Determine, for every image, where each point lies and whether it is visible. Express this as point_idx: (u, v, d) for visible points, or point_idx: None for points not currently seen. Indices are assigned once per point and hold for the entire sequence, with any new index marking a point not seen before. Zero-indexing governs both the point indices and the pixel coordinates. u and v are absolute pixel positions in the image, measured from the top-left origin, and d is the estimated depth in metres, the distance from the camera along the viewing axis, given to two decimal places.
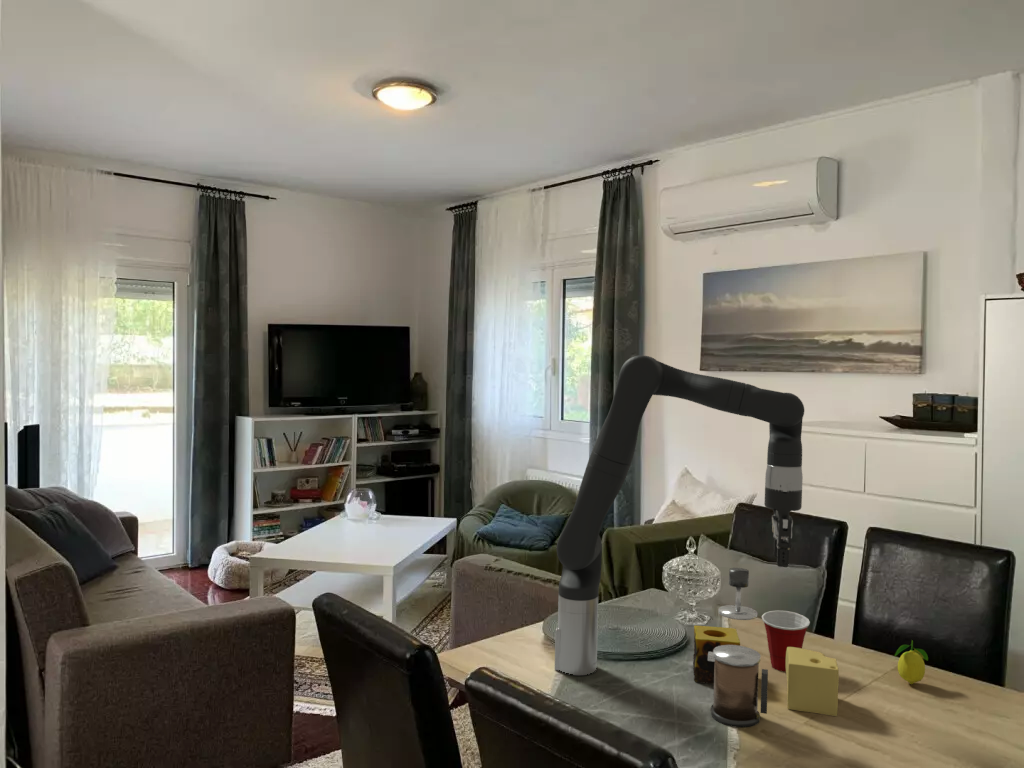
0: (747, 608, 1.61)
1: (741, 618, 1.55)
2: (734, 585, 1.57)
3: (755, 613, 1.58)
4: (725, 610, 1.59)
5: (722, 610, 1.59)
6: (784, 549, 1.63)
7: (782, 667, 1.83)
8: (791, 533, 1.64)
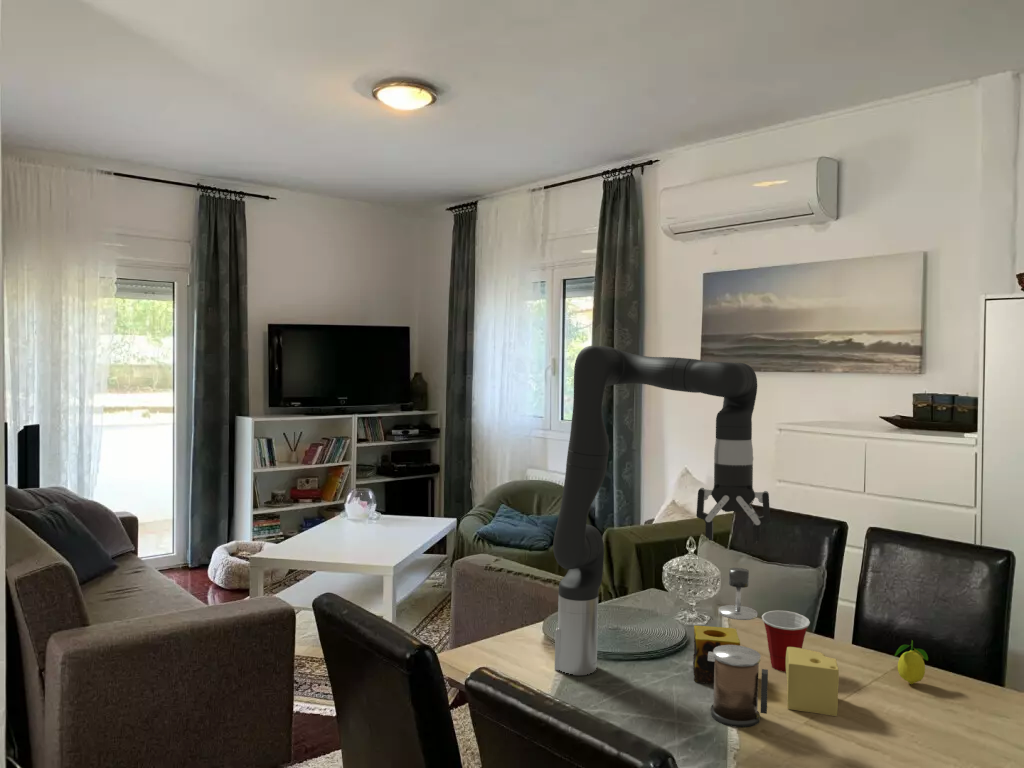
0: (747, 608, 1.61)
1: (741, 618, 1.55)
2: (734, 585, 1.57)
3: (755, 613, 1.58)
4: (725, 610, 1.59)
5: (722, 610, 1.59)
6: (761, 523, 1.57)
7: (782, 667, 1.83)
8: (751, 507, 1.59)
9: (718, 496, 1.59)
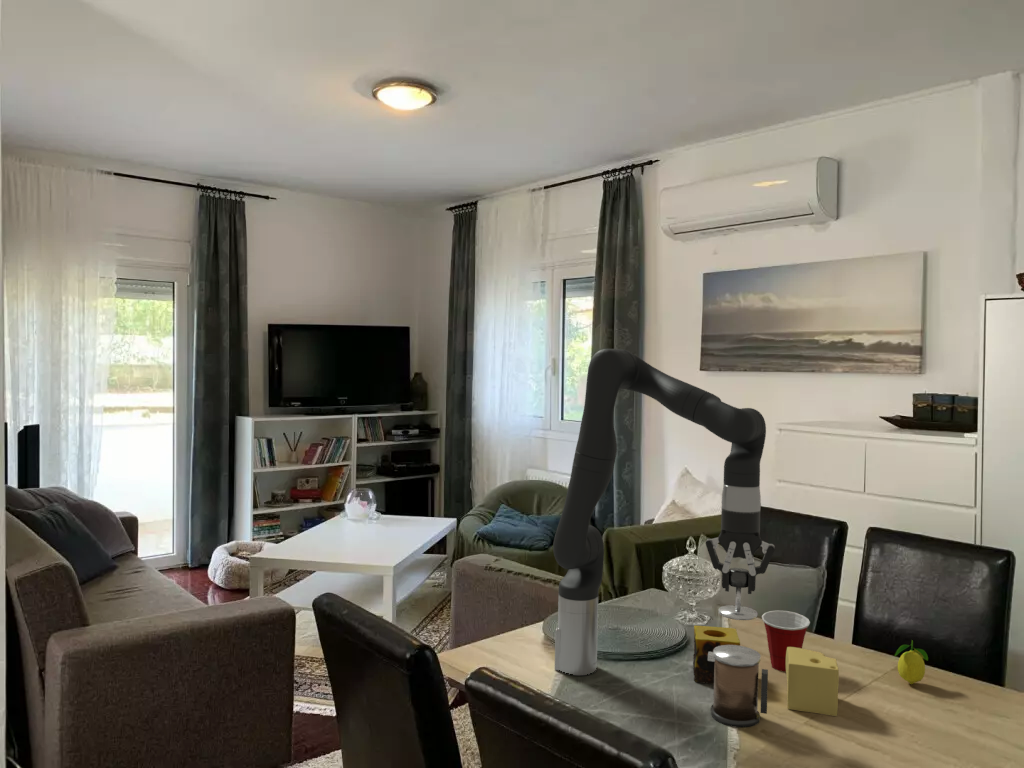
0: (747, 608, 1.61)
1: (741, 618, 1.55)
2: (734, 585, 1.57)
3: (755, 613, 1.58)
4: (725, 610, 1.59)
5: (722, 610, 1.59)
6: (756, 574, 1.58)
7: (782, 667, 1.83)
8: None
9: (726, 541, 1.58)
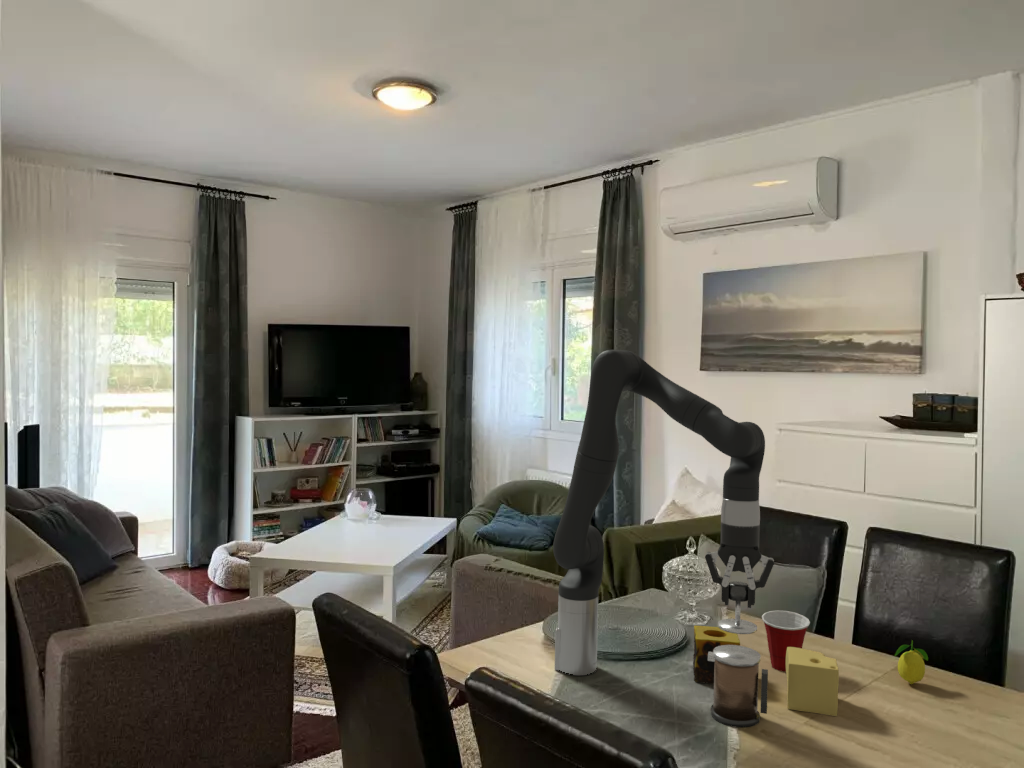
0: (747, 622, 1.61)
1: (741, 632, 1.55)
2: (734, 599, 1.58)
3: (755, 627, 1.58)
4: (724, 623, 1.59)
5: (722, 624, 1.59)
6: None
7: (782, 667, 1.83)
8: (752, 569, 1.59)
9: (725, 555, 1.58)
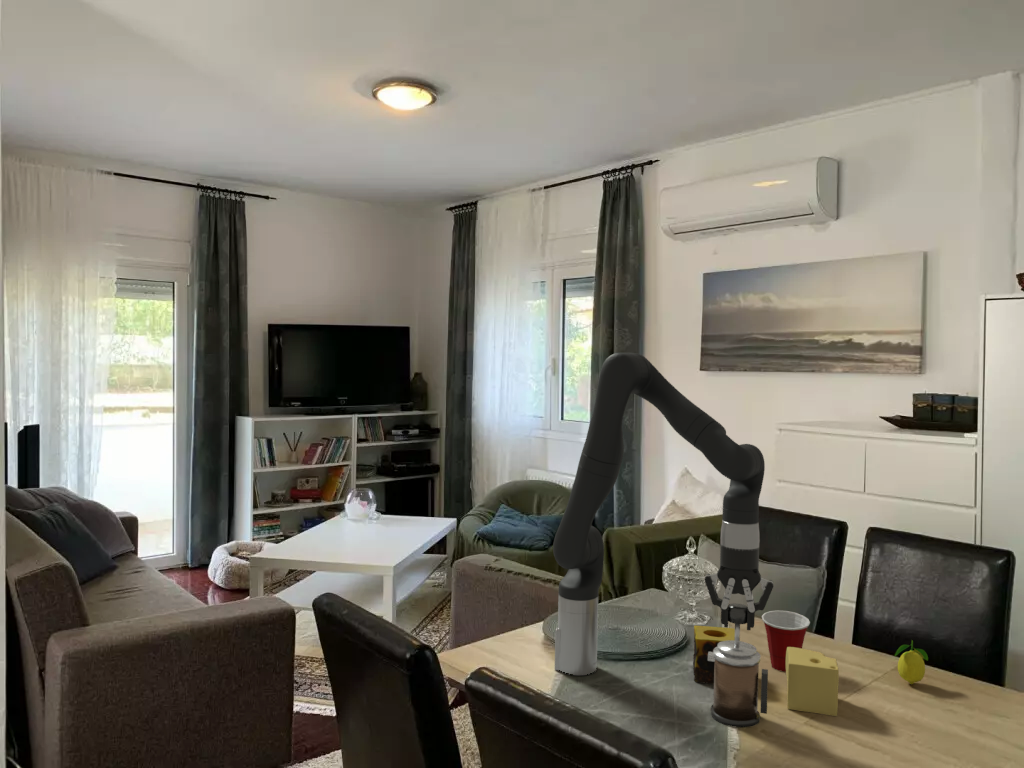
0: (746, 644, 1.61)
1: (740, 655, 1.55)
2: (733, 622, 1.58)
3: (754, 649, 1.58)
4: (724, 646, 1.60)
5: (721, 646, 1.59)
6: (755, 610, 1.58)
7: (782, 667, 1.83)
8: None
9: (725, 577, 1.59)
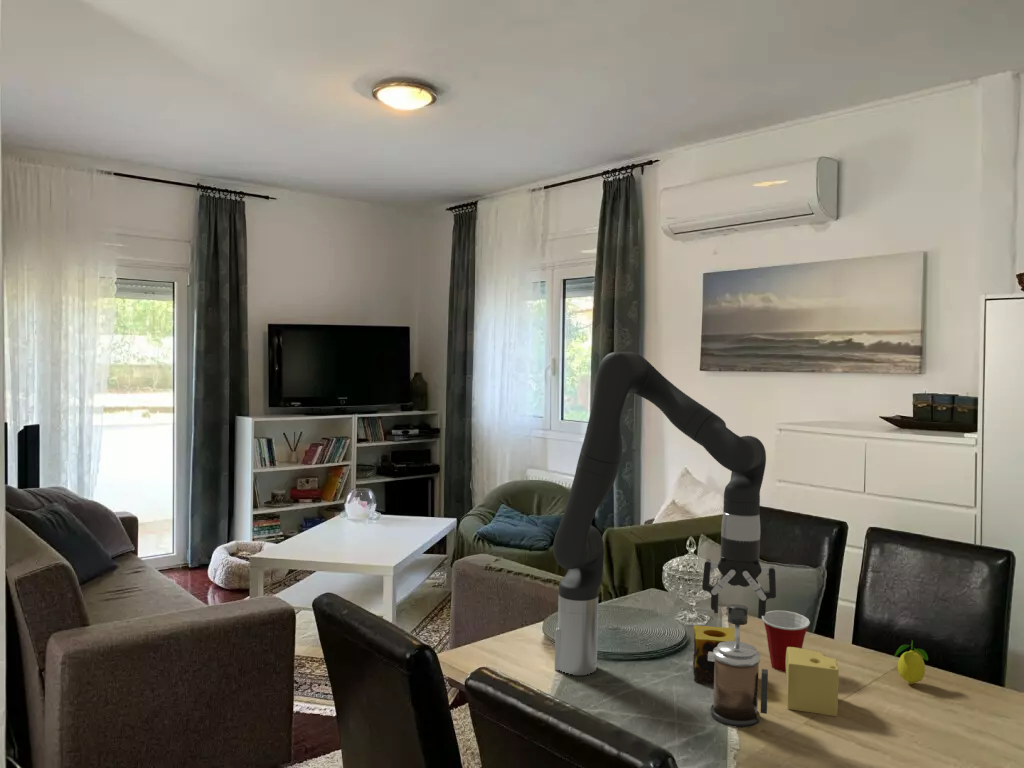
0: (746, 644, 1.61)
1: (740, 656, 1.55)
2: (733, 622, 1.58)
3: (754, 650, 1.58)
4: (724, 646, 1.60)
5: (721, 647, 1.59)
6: (767, 598, 1.57)
7: (782, 667, 1.83)
8: (757, 580, 1.59)
9: (724, 569, 1.59)
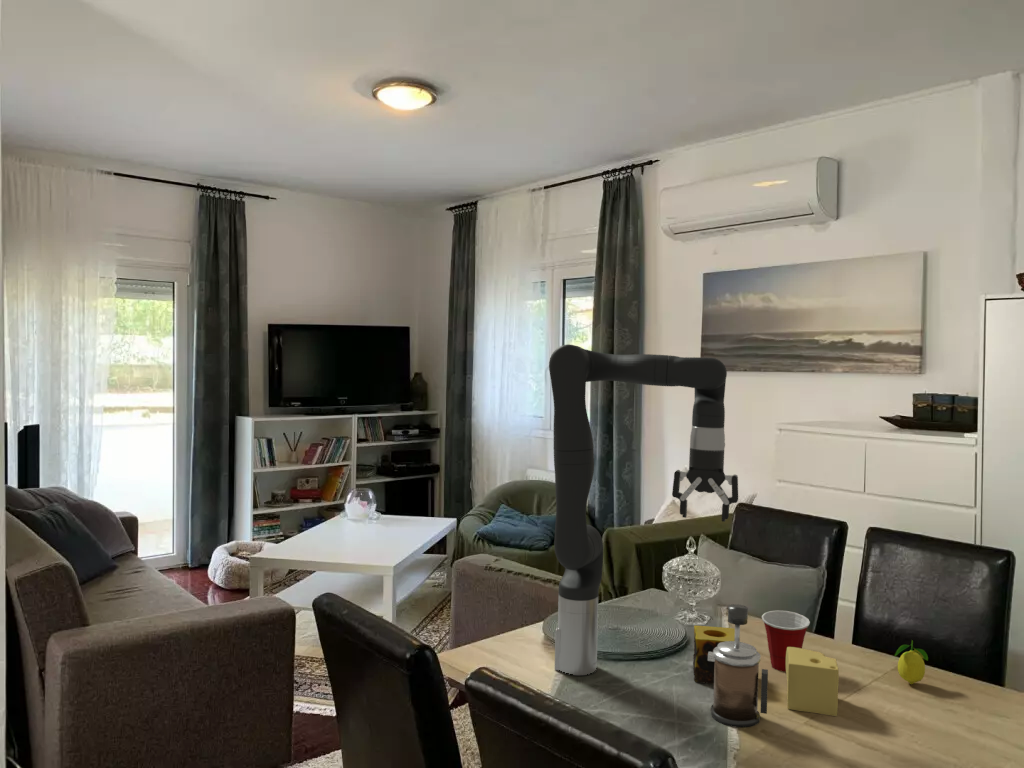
0: (746, 644, 1.61)
1: (740, 656, 1.55)
2: (733, 622, 1.58)
3: (754, 650, 1.58)
4: (724, 646, 1.60)
5: (721, 647, 1.59)
6: None
7: (782, 667, 1.83)
8: None
9: (692, 478, 1.76)
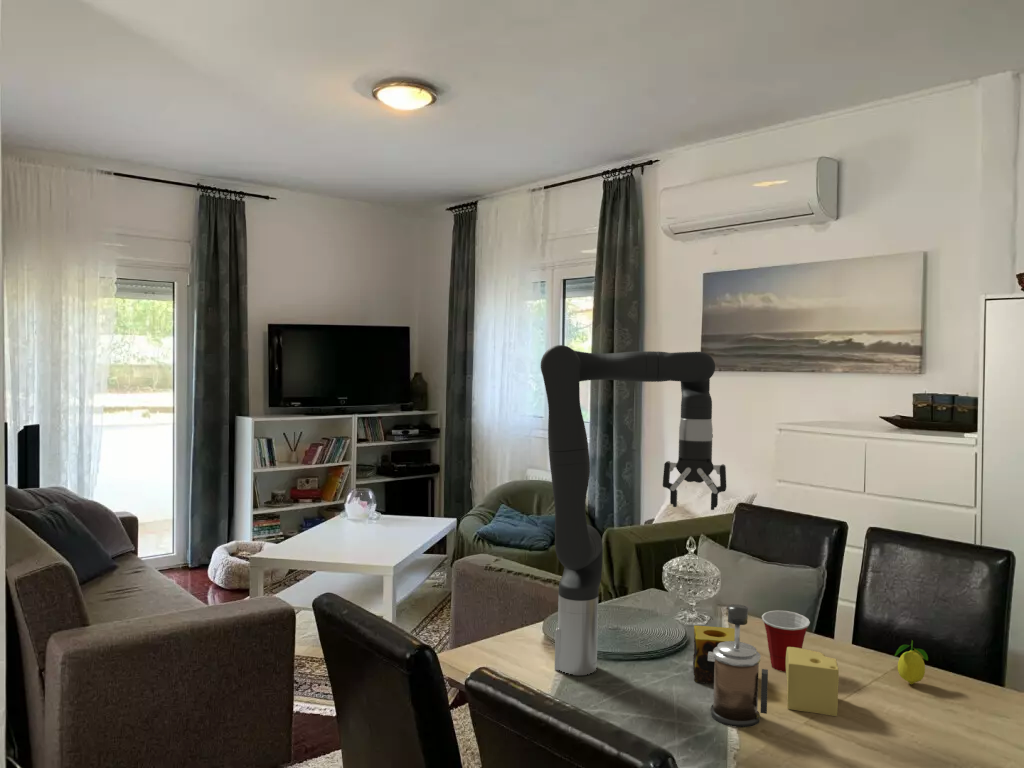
0: (746, 644, 1.61)
1: (740, 656, 1.55)
2: (733, 622, 1.58)
3: (754, 650, 1.58)
4: (724, 646, 1.60)
5: (721, 647, 1.59)
6: (718, 492, 1.80)
7: (782, 667, 1.83)
8: None
9: (681, 468, 1.82)
